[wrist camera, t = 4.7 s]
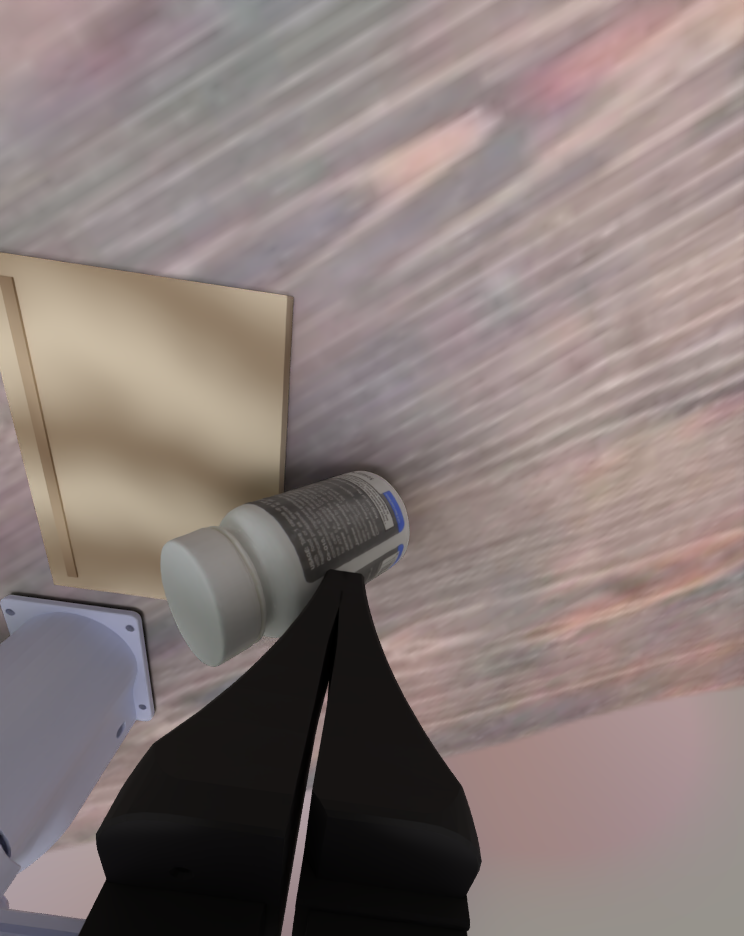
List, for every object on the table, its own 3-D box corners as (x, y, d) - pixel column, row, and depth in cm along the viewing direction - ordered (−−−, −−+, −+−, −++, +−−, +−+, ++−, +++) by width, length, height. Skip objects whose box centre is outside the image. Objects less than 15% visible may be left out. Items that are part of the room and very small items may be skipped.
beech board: (278, 601, 21) (272, 615, 20) (69, 572, 21) (52, 585, 20) (293, 297, 15) (286, 295, 14) (-4, 252, 14) (-34, 247, 13)
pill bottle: (332, 464, 18) (143, 513, 12) (411, 474, 15) (211, 547, 9) (340, 553, 19) (169, 642, 13) (415, 579, 16) (238, 712, 10)
